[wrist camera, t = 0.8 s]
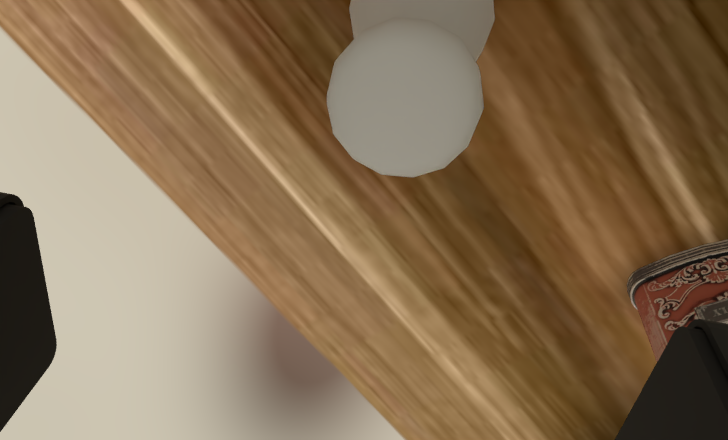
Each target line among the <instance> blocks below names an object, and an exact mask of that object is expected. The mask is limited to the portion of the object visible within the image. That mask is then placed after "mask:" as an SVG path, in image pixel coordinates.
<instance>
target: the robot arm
mask: <svg viewBox="0 0 728 440" xmlns="http://www.w3.org/2000/svg"><path fill="white" fill-rule="evenodd" d="M55 352H56V336H55V330H54V325H53V320H52V314H51V309H50V304H49V298H48V292H47V287H46V282H45V276H44V271H43V265H42V261H41V255H40V250H39V244H38V238H37V233H36V227H35V222H34V217H33V214H32V211H31V210H30V209H29V208H27V207H24V205H23V203H22V201H21V199H20V198H19V197H18V196H15V195H12V194H7V193H1V192H0V432H1V430H2V429H3V427H4V426H5V425H6V424H7V422H8V421H9V419H10V418H11V417H12V416H13V414H14V413H15V411H16V410H17V409H18V407H19V406H20V405H21V403H22V402H23V401H24V399H25V398H26V397H27V395H28V394H29V393H30V391H31V390H32V389H33V387H34V386H35V385H36V383H37V382H38V381H39V379H40V378H41V377H42V375H43V374H44V372H45V371H46V370H47V369H48V367H49V366H50V364H51V362H52V360H53V358H54V355H55ZM615 440H728V324H726V323H720V322H715V321H709V320H704V319H695V320H693V321H692V322H690V323H689V325H688V326H687V327H684V326H681V327H678V328H677V329H676V330H675V331H674V333H673V334H672V336H671V338H670V340H669V342H668V344H667V345H666V347H665V349H664V351H663V353H662V355H661V356H660V358H659V360H658V362H657V364H656V365H655V367H654V369H653V371H652V373H651V375H650V376H649V378H648V380H647V382H646V384H645V386H644V387H643V389H642V391H641V393H640V395H639V397H638V398H637V400H636V402H635V404H634V406H633V407H632V409H631V411H630V413H629V415H628V417H627V418H626V420H625V422H624V424H623V426H622V428H621V429H620V431H619V433H618V435H617V437H616V439H615Z"/></svg>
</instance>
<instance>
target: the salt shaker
mask: <svg viewBox="0 0 728 440" xmlns="http://www.w3.org/2000/svg"><path fill="white" fill-rule="evenodd" d="M349 11H350V17H351V23H352V30H353V36H354V40H353V41H352V42H351V43H350V45H349V46H348V47H347V48H346V49H345V50H344V51H343V52H342V53H341V55H340V56H339V57H338V58H337V59H336V61H335V63H334V67H333V71H332V75H331V80H330V84H329V88H328V92H327V106H328V111H329V116H330V120H331V125H332V130H333V134H334V136H335V137H336V138H337V139H338V141H339V142H340V143H341V144H342V146H343V147H344V148H345V149H346V151H347V152H348V153H349V154H350V156H351V157H352V158H353V159H354V160H356V161H358V162H360V163H361V164H363V165H365V166H367V167H369V168H370V169H372V170H374V171H376V172H378V173H379V174H381V175H392V176H404V177H416V176H420V175H423V174H426V173H429V172H433V171H436V170H439V169H443V168H445V167H446V166H447V165H448V164H449V163H450V162H451V161H452V160H454V159H455V158H456V157H457V156H458V155H459V154H460V153H461V152H462V151H463V150H465V149H466V148H467V147H468V145H469V143H470V140H471V138H472V135H473V133H474V131H475V128H476V126H477V124H478V121H479V119H480V116H481V114H482V111H483V109H484V104H483V94H482V85H481V75H480V70H479V66H478V65H477V63H476V61H477V59H478V58H479V56H480V54H481V53H482V51H483V49H484V46H485V43H486V41H487V38H488V36H489V33H490V31H491V28H492V25H493V23H494V20H495V14H494V3H493V0H351V3H350V7H349Z"/></svg>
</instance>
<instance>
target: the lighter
mask: <svg viewBox="0 0 728 440" xmlns="http://www.w3.org/2000/svg"><path fill="white" fill-rule="evenodd" d="M627 291H628V294H629V297H630V300H631V302H632V304H633V306H634V307H635V308H636V309H637V310H638V311H639V314H640V317H641V319H642V322H643V325H644V328H645V330H646V333H647V336H648V339H649V341H650V344H651V347H652V349H653V352H654V355H655V358H656V360H657V362H658V360H659V358H660V356H661V355H662V353H663V351H664V349H665V347H666V345H667V344H668V342H669V340H670V338H671V336H672V334H673V333H674V331H675V330H676V329H677V328H678V327H681V326H684V327H687V326H688V325H689V323H690V322H692V321H693V320H695V319H704V320H709V321H715V322H720V323H726V324H728V240H724V241H719V242H714V243H710V244H705V245H701V246H698V247H695V248H692V249H689V250H686V251H683V252H679V253H676V254H673V255H670V256H668V257H665V258H663V259H661V260H658V261H656V262H654V263H651V264H649V265H647V266H644V267H642V268H640V269H638V270H636V271H635V272H633V273H632V275H631V276H630V277H629V279H628V282H627Z"/></svg>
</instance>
